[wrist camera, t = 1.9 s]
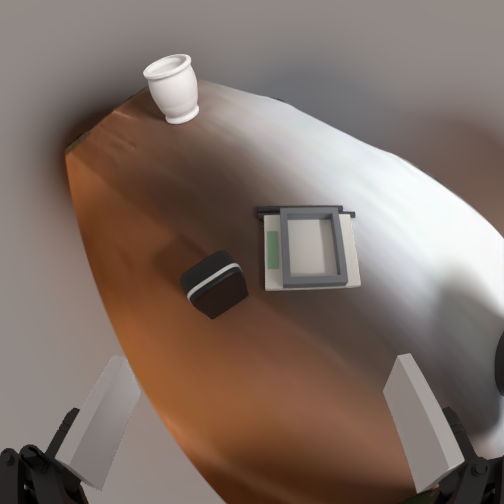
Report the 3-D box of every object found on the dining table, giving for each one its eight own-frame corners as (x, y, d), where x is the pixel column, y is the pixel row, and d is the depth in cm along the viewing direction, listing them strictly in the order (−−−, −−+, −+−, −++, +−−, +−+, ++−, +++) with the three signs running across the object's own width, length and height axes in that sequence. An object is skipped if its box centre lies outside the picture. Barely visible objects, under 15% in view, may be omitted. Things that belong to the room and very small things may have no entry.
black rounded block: (236, 274, 40) (223, 240, 30) (251, 294, 39) (242, 266, 28) (197, 300, 39) (170, 275, 29) (211, 321, 38) (187, 303, 27)
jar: (183, 131, 55) (165, 77, 41) (153, 123, 58) (133, 75, 44) (212, 106, 58) (200, 54, 44) (182, 99, 61) (167, 52, 47)
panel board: (348, 217, 43) (352, 207, 40) (358, 287, 38) (365, 280, 35) (264, 218, 44) (263, 208, 41) (265, 290, 39) (264, 284, 36)
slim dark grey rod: (352, 207, 44) (353, 204, 43) (354, 218, 43) (355, 215, 42) (258, 208, 45) (257, 205, 44) (258, 220, 44) (257, 217, 43)
